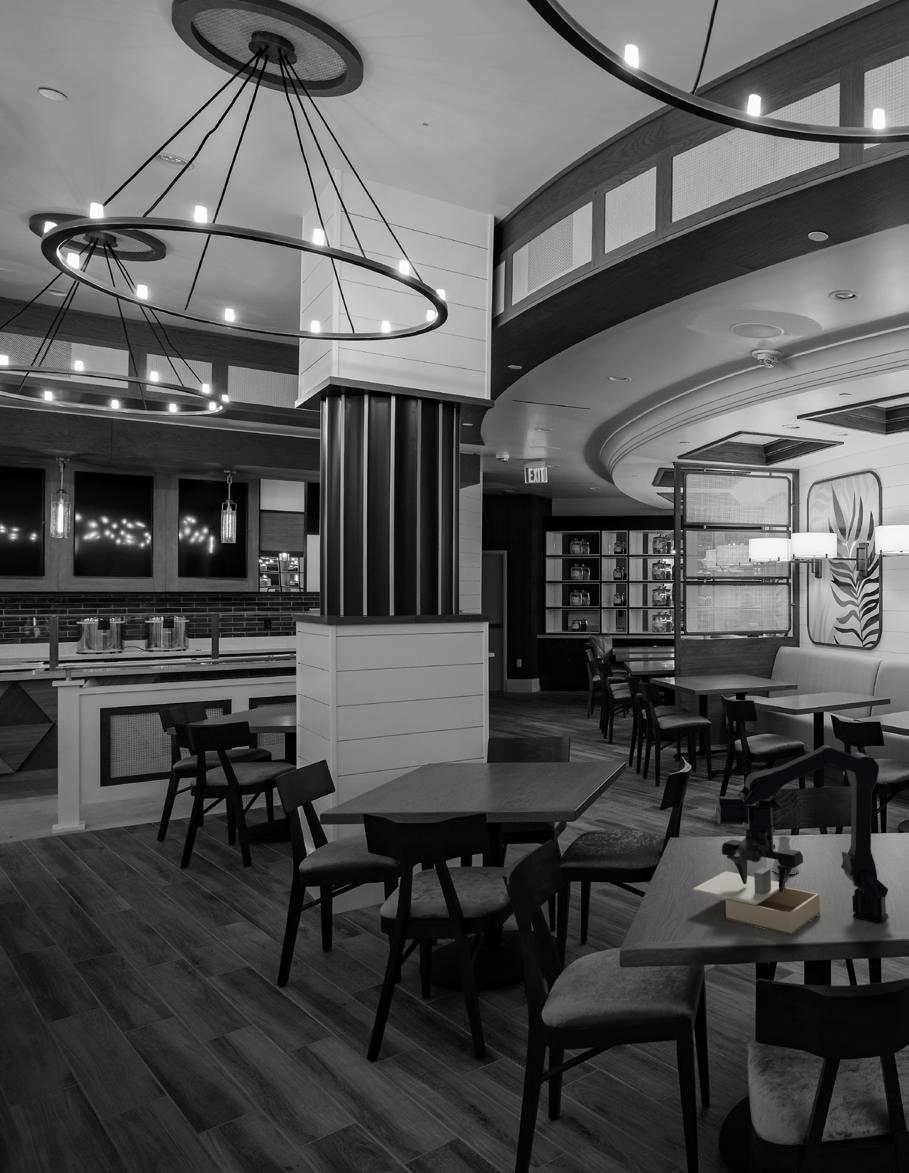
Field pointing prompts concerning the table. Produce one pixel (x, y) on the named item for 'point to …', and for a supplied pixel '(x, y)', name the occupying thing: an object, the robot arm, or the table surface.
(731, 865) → the toilet tissue
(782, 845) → the flask
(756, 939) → the table surface
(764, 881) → the carton lid
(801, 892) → the carton
